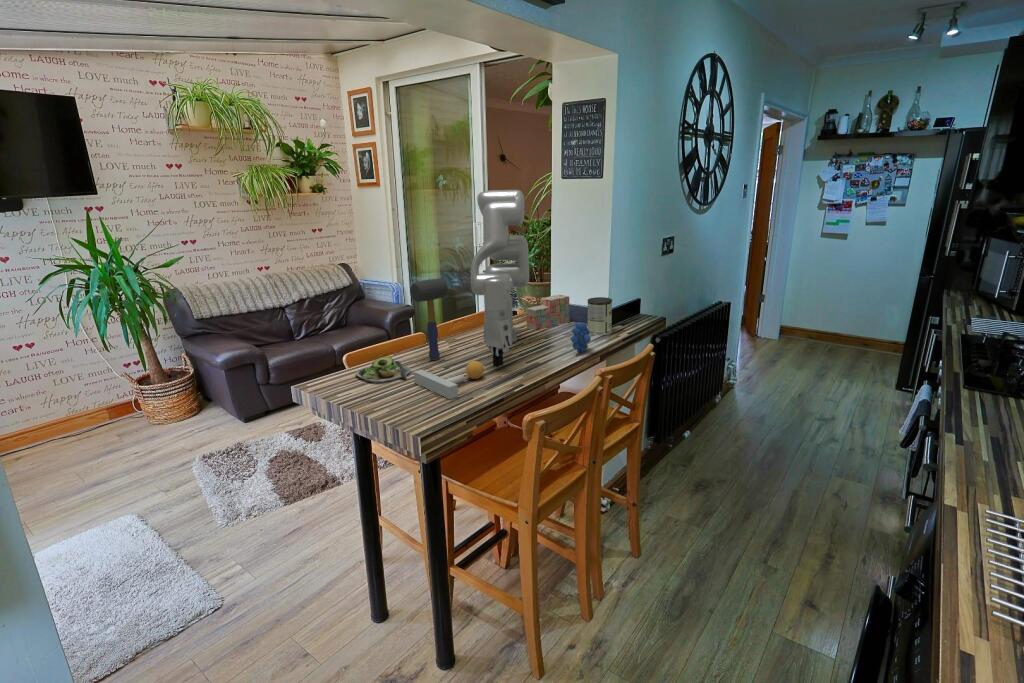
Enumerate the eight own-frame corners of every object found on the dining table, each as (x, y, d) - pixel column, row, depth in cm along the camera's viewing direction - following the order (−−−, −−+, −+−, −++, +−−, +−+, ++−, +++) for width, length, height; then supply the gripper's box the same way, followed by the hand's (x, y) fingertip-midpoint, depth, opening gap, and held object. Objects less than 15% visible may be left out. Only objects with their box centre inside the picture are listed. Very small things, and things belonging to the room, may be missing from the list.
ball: (459, 373, 173) (471, 376, 178) (471, 380, 169) (483, 382, 174) (466, 356, 173) (478, 360, 177) (478, 363, 169) (490, 366, 174)
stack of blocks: (536, 331, 229) (535, 303, 226) (526, 328, 234) (525, 301, 231) (569, 322, 243) (569, 295, 239) (560, 319, 247) (559, 294, 244)
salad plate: (425, 375, 180) (424, 362, 179) (380, 390, 168) (379, 376, 167) (393, 363, 193) (392, 351, 192) (349, 376, 181) (348, 364, 180)
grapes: (582, 358, 191) (582, 326, 187) (566, 355, 195) (566, 324, 191) (598, 350, 199) (598, 319, 196) (583, 347, 203) (583, 317, 200)
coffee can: (587, 328, 230) (587, 297, 226) (611, 328, 228) (611, 297, 224) (587, 335, 220) (587, 302, 216) (612, 335, 218) (612, 302, 215)
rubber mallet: (426, 365, 188) (419, 283, 180) (414, 361, 194) (407, 280, 185) (454, 357, 196) (448, 278, 188) (442, 353, 202) (436, 276, 193)
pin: (460, 373, 172) (438, 380, 167) (464, 375, 171) (443, 382, 165) (460, 380, 173) (439, 387, 168) (465, 382, 171) (443, 389, 166)
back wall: (422, 380, 174) (421, 369, 173) (458, 396, 159) (457, 384, 158) (414, 383, 172) (413, 371, 171) (450, 399, 157) (449, 387, 156)
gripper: (519, 315, 173) (520, 367, 179) (490, 308, 184) (492, 358, 189) (502, 319, 169) (504, 373, 174) (473, 312, 179) (476, 363, 185)
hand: (498, 365), depth 182 cm, fingers closed
